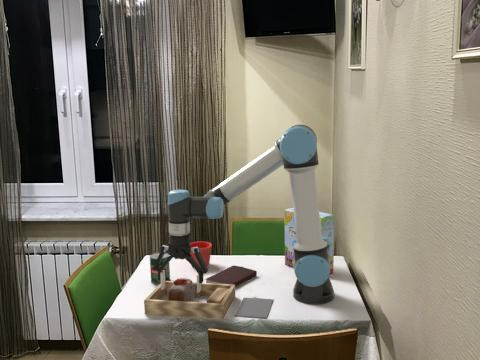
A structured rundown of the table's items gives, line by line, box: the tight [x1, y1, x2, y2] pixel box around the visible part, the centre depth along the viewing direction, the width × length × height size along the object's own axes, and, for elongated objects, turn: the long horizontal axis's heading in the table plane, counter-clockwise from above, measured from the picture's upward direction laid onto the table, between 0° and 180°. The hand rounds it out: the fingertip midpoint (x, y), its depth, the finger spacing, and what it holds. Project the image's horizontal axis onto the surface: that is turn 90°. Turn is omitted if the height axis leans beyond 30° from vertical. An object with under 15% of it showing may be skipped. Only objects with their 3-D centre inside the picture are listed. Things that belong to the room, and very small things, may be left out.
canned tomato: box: [149, 252, 171, 285], centre depth 212 cm, size 8×8×11 cm
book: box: [205, 265, 258, 288], centre depth 211 cm, size 12×19×3 cm, turn 145°
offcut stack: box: [206, 288, 229, 304], centre depth 185 cm, size 6×15×5 cm, turn 168°
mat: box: [234, 297, 274, 319], centre depth 184 cm, size 11×16×1 cm
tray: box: [143, 280, 236, 320], centre depth 187 cm, size 28×19×5 cm
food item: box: [167, 277, 195, 302], centre depth 187 cm, size 14×8×10 cm, turn 173°
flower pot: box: [190, 241, 213, 268], centre depth 230 cm, size 11×11×10 cm
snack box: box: [283, 207, 335, 275], centre depth 221 cm, size 22×9×26 cm, turn 42°
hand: (180, 290), depth 187 cm, fingers open, 13 cm apart
